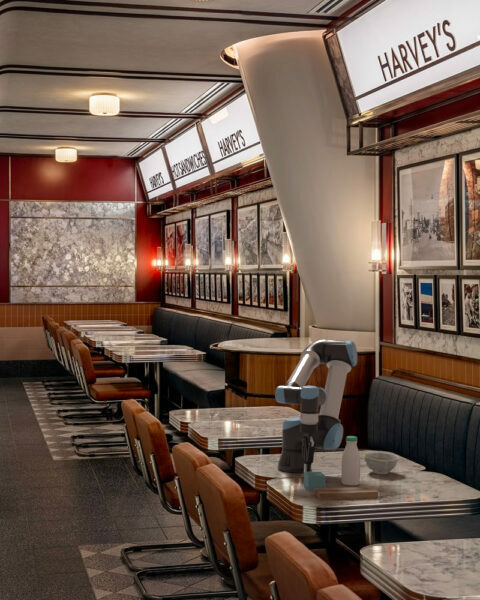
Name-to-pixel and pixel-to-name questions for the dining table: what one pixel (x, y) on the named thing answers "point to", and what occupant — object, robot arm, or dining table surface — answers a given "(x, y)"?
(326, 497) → the board
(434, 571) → the dining table surface
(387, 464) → the bowl
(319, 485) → the block
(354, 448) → the milk bottle
